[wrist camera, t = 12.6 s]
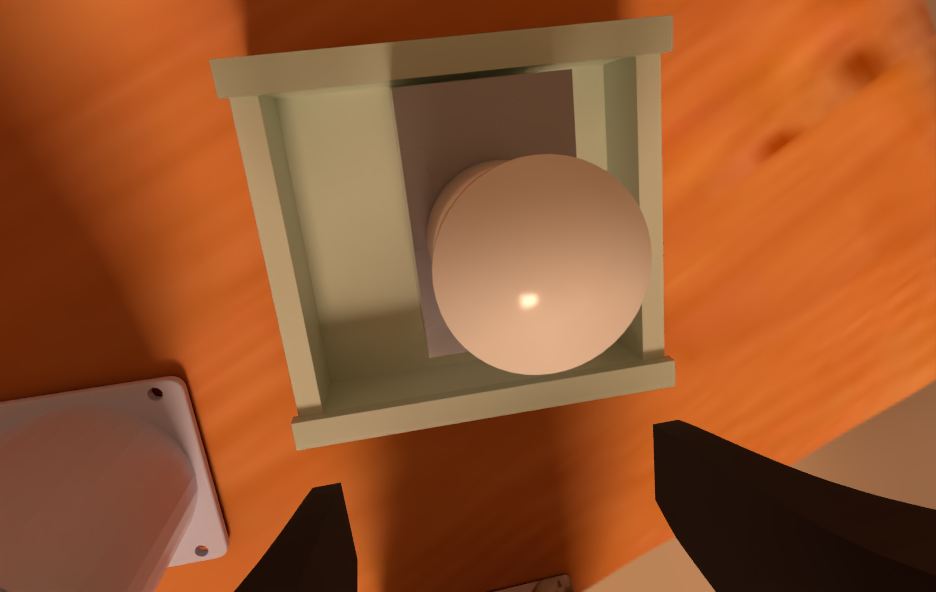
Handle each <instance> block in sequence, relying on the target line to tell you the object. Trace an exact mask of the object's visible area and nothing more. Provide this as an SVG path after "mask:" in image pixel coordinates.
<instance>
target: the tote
mask: <svg viewBox="0 0 936 592" xmlns="http://www.w3.org/2000/svg"><path fill="white" fill-rule="evenodd" d="M671 51H673V15H666V16H655V17H645V18H635V19H624V20H614V21H604V22H593V23H583V24H573V25H562V26H552V27H541V28H531V29H521V30H510V31H500V32H490V33H479V34H469V35H459V36H448V37H438V38H428V39H417V40H407V41H397V42H386V43H376V44H366V45H355V46H345V47H335V48H324V49H314V50H304V51H293V52H283V53H272V54H262V55H252V56H241V57H231V58H221V59H210V60H209V61H210V66H211V70H212V74H213V79H214V83H215V88H216V92H217V97H218V98H219V99H229V100H230V105H231V109H232V114H233V118H234V123H235V128H236V132H237V137H238V141H239V146H240V150H241V155H242V159H243V164H244V169H245V173H246V178H247V182H248V187H249V191H250V196H251V201H252V205H253V210H254V214H255V219H256V223H257V228H258V232H259V237H260V242H261V246H262V251H263V255H264V260H265V264H266V269H267V274H268V278H269V283H270V287H271V292H272V296H273V301H274V305H275V310H276V315H277V319H278V324H279V328H280V333H281V337H282V342H283V347H284V351H285V356H286V360H287V365H288V369H289V374H290V379H291V383H292V388H293V392H294V397H295V401H296V406H297V410H298V415H299V416H296V417H293V420H292V423H291V426H292V431H293V435H294V440H295V444H296V449H297V451H298V450H304V449H310V448H316V447H321V446H327V445H333V444H339V443H345V442H351V441H357V440H363V439H368V438H374V437H380V436H386V435H392V434H398V433H404V432H409V431H415V430H421V429H427V428H433V427H439V426H445V425H450V424H456V423H462V422H468V421H474V420H480V419H486V418H492V417H497V416H503V415H509V414H515V413H521V412H527V411H533V410H538V409H544V408H550V407H556V406H562V405H568V404H574V403H580V402H585V401H591V400H597V399H603V398H609V397H615V396H621V395H626V394H632V393H638V392H644V391H650V390H656V389H662V388H668V387H673V386H675V360H674V359H672V358H671V357H670V356H664V288H663V207H662V125H661V54H665V53H668V52H671ZM567 69H572V80H573V98H574V116H575V135H576V153H577V158H579V159H583V160H585V161H588V162H590V163H593V164H595V165H597V166H599V167H600V168H602V169H604V170H606V171H607V172H609V173H610V174H611V175H612V176H614V177H615V178H616V179H618V180H619V181H620V182H621V183H622V184H623V185H624V187H625V188H626V189H627V190H628V191H629V192H630V194H631V195H632V196H633V198H634V199H635V201H636V202H637V204H638V206H639V208H640V210H641V212H642V213H643V216H644V219H645V221H646V224H647V227H648V231H649V236H650V241H651V252H652V262H651V273H650V279H649V284H648V287H647V291H646V294H645V297H644V299H643V302H642V304H641V306H640V309H639V311H638V312H637V314H636V316H635V317H634V319H633V321H632V322H631V324H630V325H629V326H628V328H627V329H626V330H625V332H624V333H623V334H622V335H621V336H620V337H619V338H618V339H617V340H616V341H615V342H614V343H613V344H612V345H611V346H610V347H609V348H607V349H606V350H605V351H604V352H602V353H601V354H599V355H598V356H596V357H595V358H593V359H592V360H590V361H588V362H586V363H584V364H582V365H580V366H577V367H574V368H572V369H569V370H566V371H562V372H557V373H553V374H543V375H525V374H518V373H512V372H508V371H505V370H502V369H498V368H496V367H494V366H492V365H489V364H487V363H485V362H484V361H482V360H480V359H479V358H477V357H476V356H474V355H473V354H472V353H471V352H464V353H457V354H451V355H445V356H438V357H432V358H429V354H428V349H427V344H426V338H425V333H424V328H423V323H422V318H421V313H420V307H419V300H418V293H417V286H416V279H415V272H414V265H413V258H412V251H411V244H410V237H409V230H408V223H407V216H406V209H405V202H404V195H403V188H402V181H401V174H400V167H399V160H398V152H397V145H396V138H395V131H394V124H393V117H392V110H391V103H390V100H391V88H396V87H405V86H415V85H424V84H434V83H443V82H453V81H462V80H472V79H481V78H491V77H500V76H510V75H519V74H529V73H538V72H548V71H557V70H567Z"/></svg>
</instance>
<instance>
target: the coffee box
mask: <svg viewBox="0 0 936 592" xmlns="http://www.w3.org/2000/svg"><path fill="white" fill-rule="evenodd" d="M495 592H576V591H575V588H574V586H573V582H572V579H571V577H570V576H568V575H560V576H556V577H552V578H548V579H544V580H540V581H536V582H532V583H527V584H523V585H519V586H515V587H511V588H507V589H503V590H499V591H495Z"/></svg>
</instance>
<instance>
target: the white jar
mask: <svg viewBox="0 0 936 592" xmlns="http://www.w3.org/2000/svg"><path fill="white" fill-rule="evenodd" d="M427 247H428V252H429V257H430V259H431V262H432V267H431V269H432V283H433V288H434V293H435V298H436V301H437V303H438V306H439V309H440V312H441V315H442V317H443V319H444V321H445V323H446V325H447V326H448V328H449V329H450V331H451V332H452V334H453V335H454V336H455V338H456V339H457V340H458V341H459V342H460V343H461V344H462V345H463V346H464V348H466V349H467V350H468V351H469V352H471V353H472V354H473V355H474V356H476V357H477V358H479V359H480V360H482V361H484V362H485V363H487V364H489V365H492V366H494V367H496V368H498V369H502V370H505V371H508V372H512V373H518V374H525V375H543V374H553V373H557V372H562V371H566V370H569V369H572V368H574V367H577V366H580V365H582V364H584V363H586V362H588V361H590V360H592V359H593V358H595V357H596V356H598V355H599V354H601V353H602V352H604V351H605V350H606V349H607V348H609V347H610V346H611V345H612V344H613V343H614V342H615V341H616V340H617V339H618V338H619V337H620V336H621V335H622V334H623V333H624V332H625V330H626V329H627V328H628V326H629V325H630V324H631V322H632V321H633V319H634V317H635V316H636V314H637V312H638V311H639V309H640V306H641V304H642V302H643V299H644V297H645V294H646V291H647V287H648V284H649V279H650V273H651V262H652V252H651V241H650V236H649V231H648V227H647V224H646V221H645V219H644V216H643V213H642V212H641V210H640V208H639V206H638V204H637V202H636V201H635V199H634V198H633V196H632V195H631V194H630V192H629V191H628V190H627V189H626V188H625V187H624V185H623V184H622V183H621V182H620V181H619V180H618V179H616V178H615V177H614V176H612V175H611V174H610V173H609V172H607V171H606V170H604V169H602V168H600V167H599V166H597V165H595V164H593V163H590V162H588V161H585V160H583V159H579V158H575V157H571V156H566V155H556V154H536V155H528V156H523V157H518V158H515V159H512V160H491V161H486V162H482V163H479V164H476V165H474V166H472V167H470V168H467V169H466V170H464V171H463V172H461V173H459V174H458V175H457V176H456V177H454V178H453V179H452V180H451V181H450V182H449V183H448V184H447V185H446V186H445V187H444V189H443V190H442V191H441V193H440V194H439V196H438V197H437V199H436V201H435V203H434V205H433V207H432V210H431V213H430V216H429V220H428V225H427Z"/></svg>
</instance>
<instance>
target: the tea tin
mask: <svg viewBox="0 0 936 592" xmlns="http://www.w3.org/2000/svg"><path fill="white" fill-rule="evenodd" d="M390 103H391V110H392V117H393V124H394V131H395V138H396V145H397V152H398V160H399V167H400V174H401V181H402V188H403V195H404V202H405V209H406V216H407V223H408V230H409V237H410V244H411V251H412V258H413V265H414V272H415V279H416V286H417V293H418V300H419V307H420V313H421V318H422V323H423V328H424V333H425V338H426V344H427V349H428V354H429V358H432V357H438V356H445V355H451V354H457V353H464V352H469V351H468V350H467V349H466V348H464V346H463V345H462V344H461V343H460V342H459V341H458V340H457V339H456V338H455V336H454V335H453V334H452V332H451V331H450V329H449V328H448V326H447V325H446V323H445V321H444V319H443V317H442V315H441V312H440V309H439V306H438V303H437V301H436V298H435V293H434V288H433V283H432V269H431V267H432V262H431V259H430V257H429V252H428V247H427V225H428V220H429V216H430V213H431V210H432V207H433V205H434V203H435V201H436V199H437V197H438V196H439V194H440V193H441V191H442V190H443V189H444V187H445V186H446V185H447V184H448V183H449V182H450V181H451V180H452V179H453V178H454V177H456V176H457V175H458V174H459V173H461V172H463V171H464V170H466V169H467V168H470V167H472V166H474V165H476V164H479V163H482V162H486V161H491V160H512V159H515V158H518V157H523V156H528V155H536V154H556V155H566V156H571V157H575V158H577V153H576V135H575V116H574V98H573V80H572V69H567V70H557V71H548V72H538V73H529V74H519V75H510V76H500V77H491V78H481V79H472V80H462V81H453V82H443V83H434V84H424V85H415V86H405V87H396V88H391V100H390Z"/></svg>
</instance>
